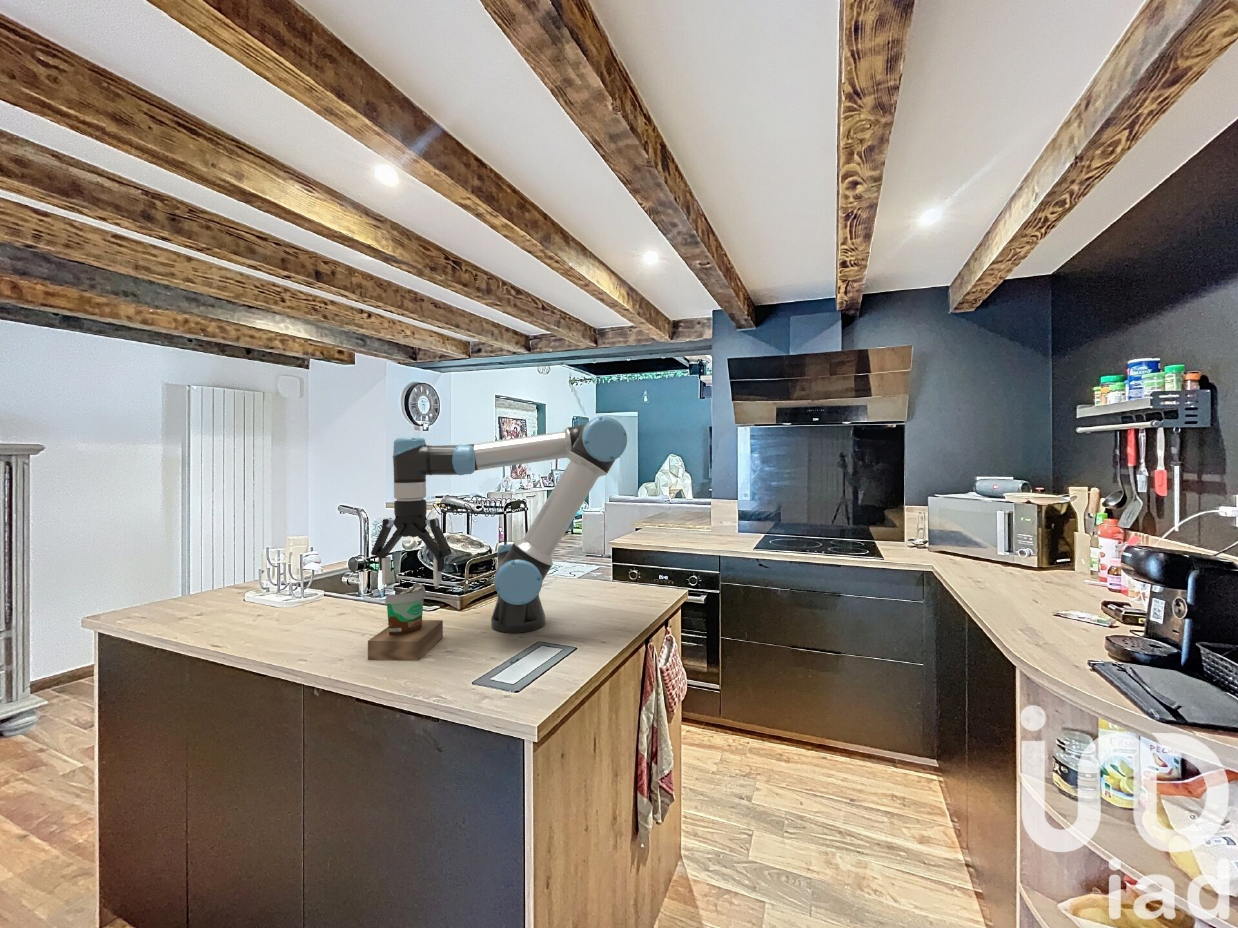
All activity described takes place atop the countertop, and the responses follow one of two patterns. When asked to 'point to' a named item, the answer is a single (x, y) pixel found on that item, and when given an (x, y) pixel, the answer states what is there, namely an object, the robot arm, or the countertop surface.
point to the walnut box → (405, 642)
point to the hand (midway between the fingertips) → (412, 583)
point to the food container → (405, 610)
